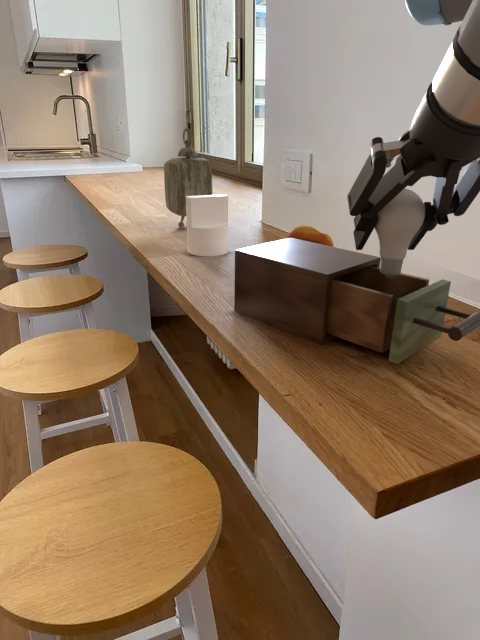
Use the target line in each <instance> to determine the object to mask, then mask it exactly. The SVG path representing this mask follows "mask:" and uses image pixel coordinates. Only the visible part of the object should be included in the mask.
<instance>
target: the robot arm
mask: <svg viewBox="0 0 480 640" xmlns="http://www.w3.org/2000/svg"><path fill="white" fill-rule="evenodd" d="M404 2H405V6H406V10H407V11H408V14H409V15H410V16H411V18H412V19H413V20H414V21H415V22H417V23H418V24H420V25H423V26H439V25H444V26H450V25H452V24H454V23H459V22H461V24H460V25H459V26H458V28H457V30H456V32H455V35H454V37H453V39H452V41H451V43H450V45H449V47H448V49H447V51H446V52H445V55H444V57H443V58H442V60H441V63H440V65H439V66H438V69H437V70H436V72H435V74H434V76H433V79H432V81H431V82H430V84H429V85H428V87H427V89H426V91H425V93H424V95H423V97H422V99H421V101H420V103H419V105H418V107H417V109H416V111H415V114H414V116H413V119H412V122H411V125H410V127H409V128H408V129H407V131H405V132H404V133H403V134H401V136H400V137H399V139H398V140H394V141H393V140H392V141H388V142H384V140H383V137H380V136H376V137H373V138H372V139H371V140H370V143H369V144H370V145H369V155H368V157H367V159H366V160H365V162H364V164H363V165H362V167H361V169H360V171H359V173H358V175H357V177H356V179H355V181H354V182H353V184H352V186H351V188H350V190H349V192H348V193H347V196H346V197H347V204H348V212H349V215H350V216H351V217H353V224H354V225H353V226H354V230H353V238H354V246H355V250H356V251H363V249H364V247H365V246H366V243H367V242H368V240H369V238H370V236H371V235H372V233H373V232H374V230H375V226H376V224H377V222H378V217H377V213H379V212H380V211H381V210H382V209H383V208H384V207H385V206H386V205H387V204H388V203H389V202H390V201H391V200H393V199H394V198H395V197H396V196H397V195H398V194H399V193H400V192H401V191H402V190H403V189H404V188H406V189H407V187H413V186H414V185H416V183H417V182H419V181H420V180H421V179H422V178H426V177H433V178H436V180H435V185H434V190H433V195H432V202H431V201H423V203H424V207H425V219H424V221H423V224H422V226H421V227H420V229H419V230H418V232H417V233H416V234H415V235H414V237H413V238H412V240H411V242H410V244H409V246H408V249H407V251H415V249H416V247H418V245H419V243H420V242H421V241H422V240H423V238H424V236H425V235H426V234H427V233H428V232H431V231H433V230H435V228H436V227H437V226H438V225H439V226H443V225H447V224H448V223H449V222H450V221H449V215H452V214H453V216H455V217H461V216H463V215H464V214H465V213H466V211H468V209H469V208H470V206H471V205H472V203H473V202H474V201H475V199H476V198H477V196H478V195H479V194H480V0H404ZM395 158H396V159H395ZM394 159H395V163H394V165H393V166H392V162H393V161H394ZM467 165H468V166H467ZM391 166H392V167H391ZM466 166H467V168H466V170H465V171H464V173H463V174H462V175H461V178H460V179H459V177H460V173H461V171H463V168H464V167H466ZM389 168H390V169H389ZM387 169H389V170H387ZM386 171H387V172H386ZM455 185H456V186H455Z"/></svg>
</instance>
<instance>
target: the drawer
mask: <svg viewBox="0 0 480 640" xmlns="http://www.w3.org/2000/svg"><path fill="white" fill-rule="evenodd" d="M451 283H452V281H451V280H448V279H447V280H446V279H443V278H442V279H440V280H438V281H435V282H433V283H431V284H430V279H429V278H425V277H420V276H416V275H413V274H407V273H405V272H401V273H400V274H399V275H396V276H394V277H393V278H387V277H385V275H384V274H382V273H381V272H380V268H379V267H374V266H369V267H366V268H363V269H360V270H357V271H354V272H351V273H348V274H345V275H342V276H339V277H336V278H333V279H330V291H329V303H328V314H327V325H326V333H328V334H331V335H333V336H336V337H337V338H339V339H342V340H345V341H346V342H347V341H348V342H350V343H352V344H356V345H359V346H362V347H364V348H367V349H370V350H373V351H375V352H378V353H380V354H383V353H385V352H387V351H388V350H389V355H388V362H391V363H393V364H397V365H398V364H400V363H402V362H403V361H406V360H407V359H408V358H409V357H411V356H413V355H414V354H416V353H418V352H419V351H421V350H422V349H424V348H426V347H428V346H429V345H430V344H433V343H434V342H435V341H438V339H439V340H440V339H441V337H442V333H444V334H447V336H448V337H449V338H450V340H452V341H455V342H458V341H460V340H461V339H463V338H465V337H466V336H468V335H470V334H471V333H472V332H474V331H475V330H477V329H479V328H480V311H476V312H474V313H469V312H465V311H462V310H458V309H454V308H451V307H447V305H448V300H449V294H450V289H451ZM446 314H447V315H451V316H454V317H458V318H461V319H462V320H461V321H460V322H458V323H456V324H455V325H453V326H451V327H450V326H447V325H444V322H445V316H446Z"/></svg>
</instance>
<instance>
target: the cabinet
mask: <svg viewBox="0 0 480 640" xmlns="http://www.w3.org/2000/svg"><path fill="white" fill-rule="evenodd" d="M380 262H381V256H376V255H371V254H367V253H363V252H358V251H355V250H348V249H345V248H340V247H337V246H336V247H335V246H334V247H331V246H327V245H322V244H318V243H313V242H309V241H304V240H299V239H295V238H287V237H286V238H282V239H278V240H274V241H269V242H263V243H260V244H255V245H250V246H246V247H242V248H237V249H235V250H234V295H233V300H234V302H233V303H234V305H233V311H234V313H235V312H236V313H238V314H241V315H243V316H246V317H248V318H251V319H254V320H256V321H259V322H261V323H264V324H267V325H268V326H269V325H270V326H272V327H274V328H277V329H280V330H283V331H284V332H288V333H290V334H292V335H295V336H298V337H300V338H303V339H305V340H307V341H310V342H313V343H315V344H318V345H321V346H322V345H324V344H326V343H328V342H330V341H333V340H335V339H337V338H338V337H336V336H333V335H331V334H328V333H326V325H327V314H328V303H329V291H330V279H333V278H336V277H339V276H342V275H345V274H348V273H351V272H354V271H357V270H360V269H363V268H366V267H369V266H374V267H379V268H380Z"/></svg>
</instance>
